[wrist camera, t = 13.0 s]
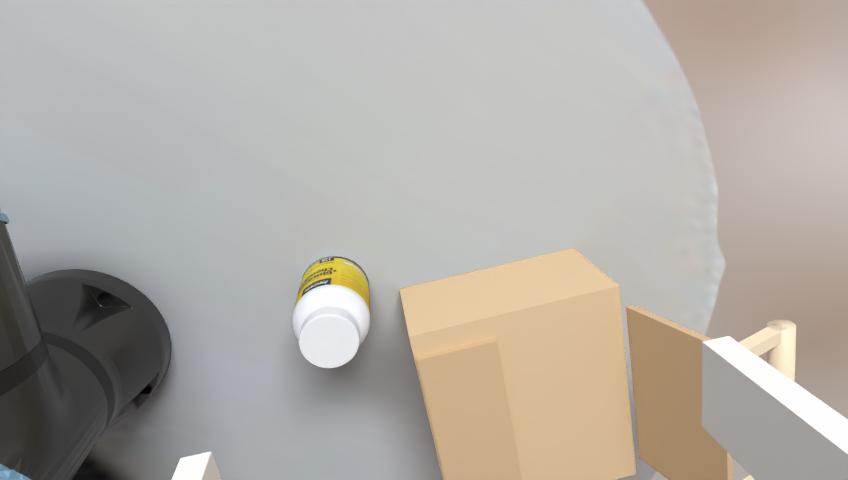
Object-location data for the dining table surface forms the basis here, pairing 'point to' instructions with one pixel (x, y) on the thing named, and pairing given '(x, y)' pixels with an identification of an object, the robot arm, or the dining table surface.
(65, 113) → the dining table surface
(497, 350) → the carton
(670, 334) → the flap
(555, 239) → the dining table surface
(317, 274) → the pill bottle
